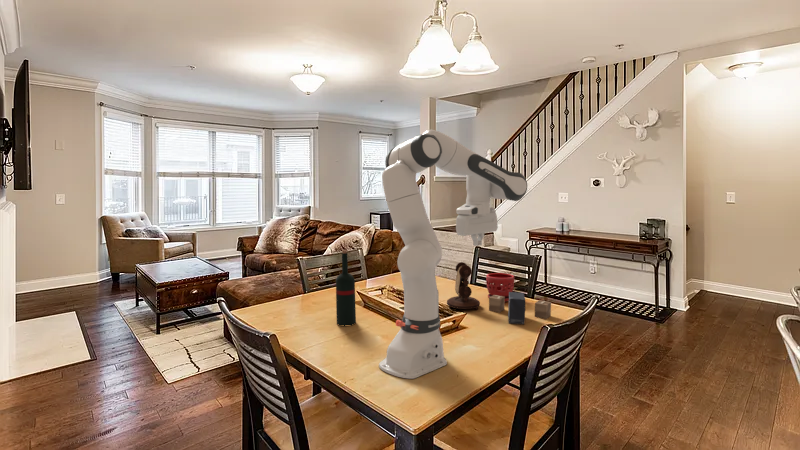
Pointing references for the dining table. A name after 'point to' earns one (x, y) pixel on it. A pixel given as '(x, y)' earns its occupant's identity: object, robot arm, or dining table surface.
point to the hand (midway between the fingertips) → (477, 245)
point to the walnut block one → (543, 309)
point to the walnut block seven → (496, 303)
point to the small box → (516, 308)
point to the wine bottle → (345, 295)
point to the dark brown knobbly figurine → (463, 289)
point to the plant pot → (496, 282)
